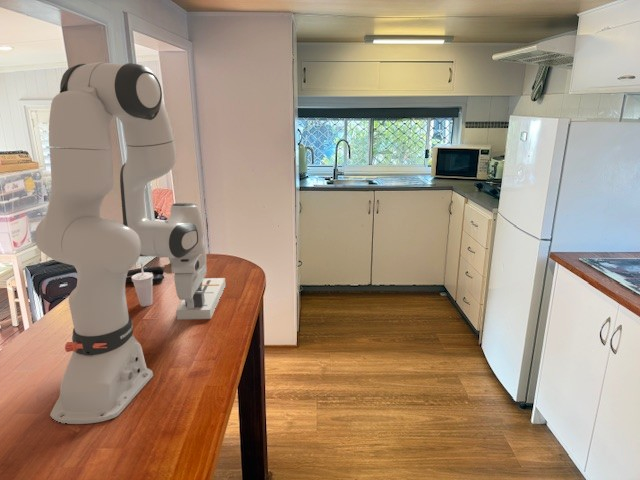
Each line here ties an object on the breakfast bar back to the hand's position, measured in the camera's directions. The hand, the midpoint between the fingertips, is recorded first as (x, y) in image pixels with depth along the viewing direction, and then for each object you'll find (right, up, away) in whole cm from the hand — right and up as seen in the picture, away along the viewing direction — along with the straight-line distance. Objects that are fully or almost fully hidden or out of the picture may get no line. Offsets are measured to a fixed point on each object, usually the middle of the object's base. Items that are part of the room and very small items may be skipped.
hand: (195, 300), depth 129 cm
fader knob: (0, -1, 0) cm, 1 cm away
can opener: (-28, +3, +26) cm, 38 cm away
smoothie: (-18, -3, +9) cm, 20 cm away
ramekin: (-17, +8, +43) cm, 47 cm away
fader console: (0, -2, +10) cm, 10 cm away
